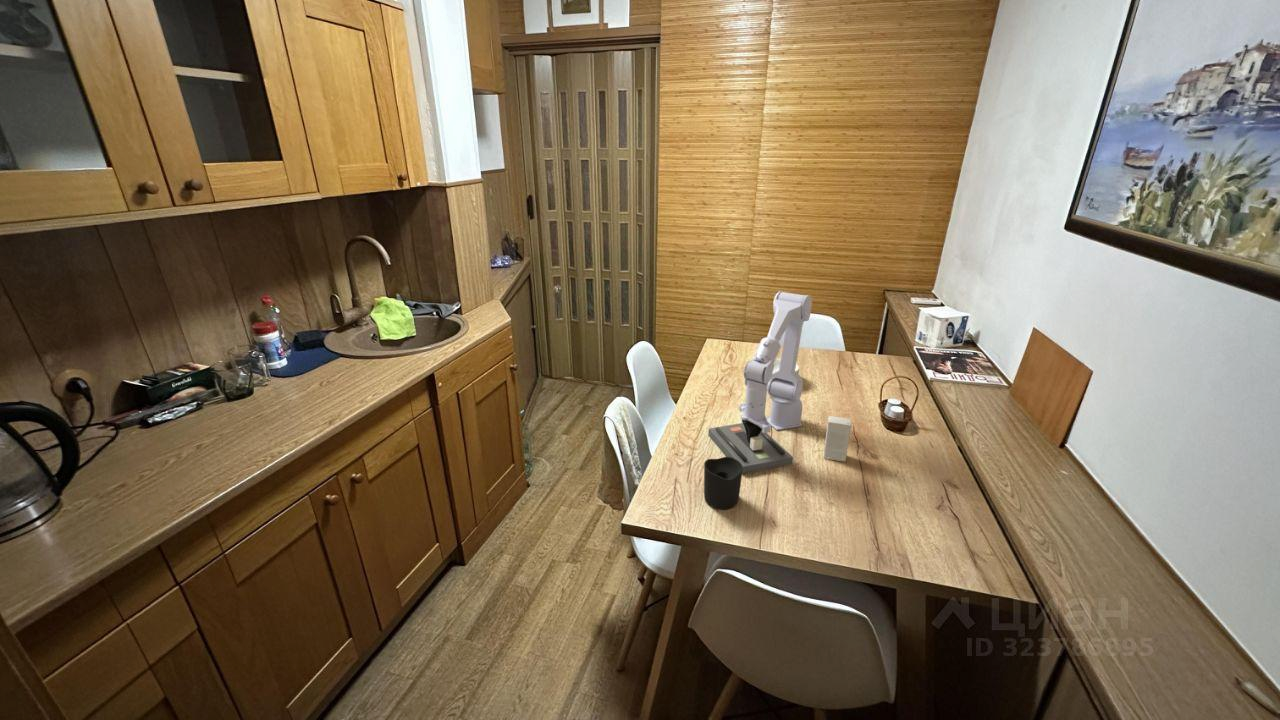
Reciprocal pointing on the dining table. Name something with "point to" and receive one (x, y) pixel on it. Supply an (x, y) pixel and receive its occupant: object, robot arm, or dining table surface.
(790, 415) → the robot arm
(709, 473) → the pen holder
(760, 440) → the breaker toggle
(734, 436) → the breaker panel
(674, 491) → the dining table surface
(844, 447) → the skincare box
